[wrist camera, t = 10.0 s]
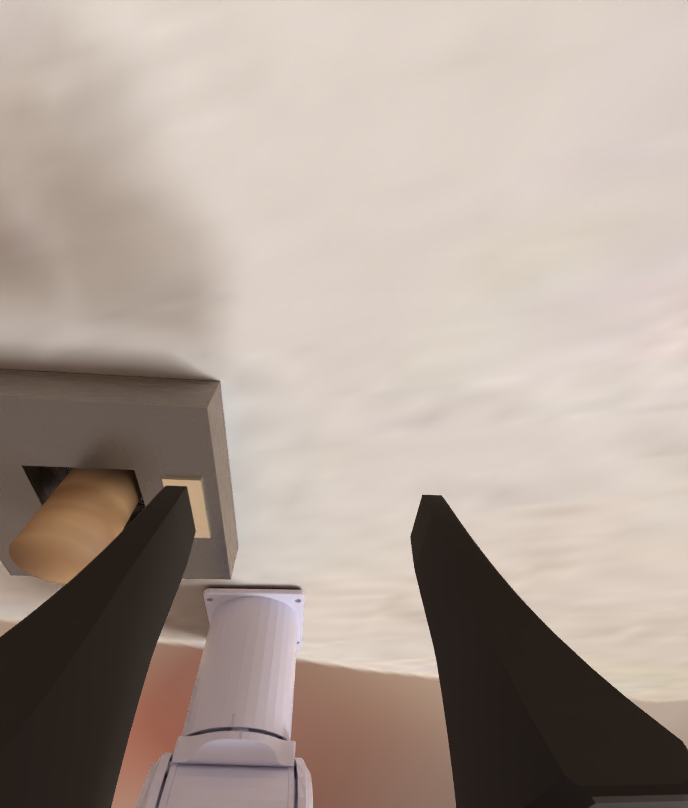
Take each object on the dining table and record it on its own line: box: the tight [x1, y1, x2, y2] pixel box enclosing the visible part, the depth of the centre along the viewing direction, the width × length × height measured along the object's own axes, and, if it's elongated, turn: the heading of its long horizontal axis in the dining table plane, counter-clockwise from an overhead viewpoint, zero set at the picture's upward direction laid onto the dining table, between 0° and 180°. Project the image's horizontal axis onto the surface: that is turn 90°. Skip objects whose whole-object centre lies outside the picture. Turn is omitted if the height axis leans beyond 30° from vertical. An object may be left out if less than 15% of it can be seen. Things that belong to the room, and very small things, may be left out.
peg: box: [9, 468, 142, 584], centre depth 21 cm, size 4×4×6 cm
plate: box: [0, 369, 238, 579], centre depth 22 cm, size 14×14×3 cm
